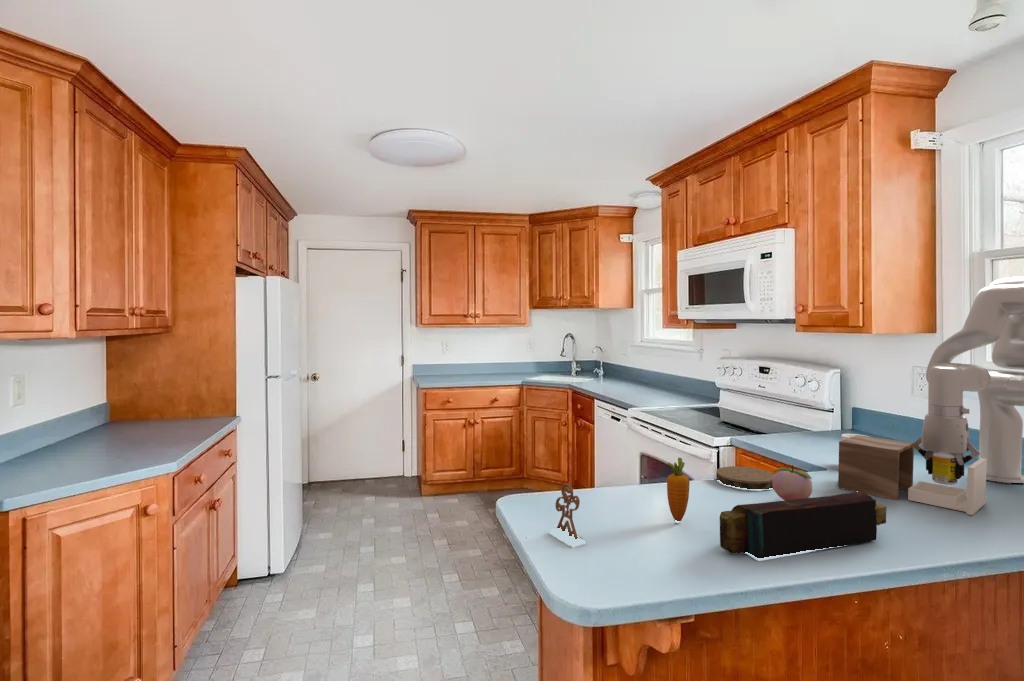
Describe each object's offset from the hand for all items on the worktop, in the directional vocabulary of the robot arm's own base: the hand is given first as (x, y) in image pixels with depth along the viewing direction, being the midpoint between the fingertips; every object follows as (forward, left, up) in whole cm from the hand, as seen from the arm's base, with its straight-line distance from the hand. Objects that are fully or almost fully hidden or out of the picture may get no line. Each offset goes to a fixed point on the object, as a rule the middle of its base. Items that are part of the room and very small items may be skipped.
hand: (944, 475), depth 155 cm
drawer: (+15, +3, -4) cm, 16 cm away
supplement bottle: (0, 0, -2) cm, 2 cm away
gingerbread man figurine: (+106, -42, -4) cm, 114 cm away
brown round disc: (+37, -38, -4) cm, 53 cm away
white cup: (-6, -24, -4) cm, 25 cm away
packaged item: (+70, -9, -4) cm, 71 cm away
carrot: (+80, -32, -4) cm, 86 cm away
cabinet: (+15, -12, -4) cm, 20 cm away
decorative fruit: (+46, -21, -4) cm, 51 cm away
